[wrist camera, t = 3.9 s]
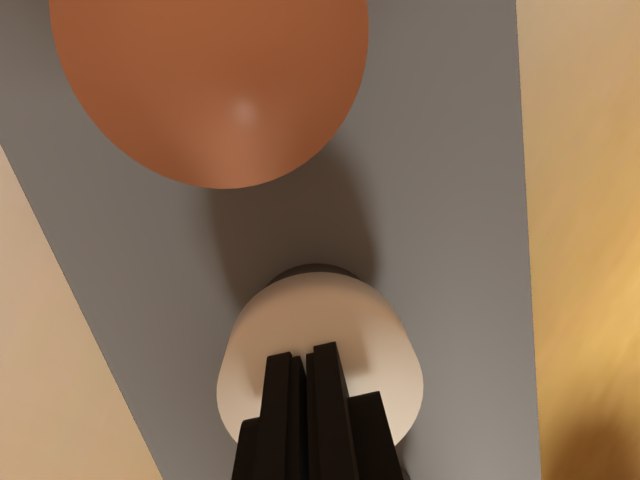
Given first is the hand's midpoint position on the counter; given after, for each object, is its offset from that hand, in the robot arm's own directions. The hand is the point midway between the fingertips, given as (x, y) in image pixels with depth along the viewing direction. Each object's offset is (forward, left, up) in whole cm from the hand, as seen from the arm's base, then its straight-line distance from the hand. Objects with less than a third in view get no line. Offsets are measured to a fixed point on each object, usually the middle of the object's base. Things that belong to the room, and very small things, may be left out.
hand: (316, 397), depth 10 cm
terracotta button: (0, -8, -1) cm, 8 cm away
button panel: (0, 0, -6) cm, 6 cm away
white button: (0, 0, -2) cm, 2 cm away
